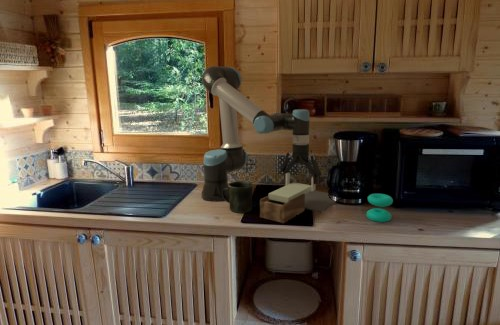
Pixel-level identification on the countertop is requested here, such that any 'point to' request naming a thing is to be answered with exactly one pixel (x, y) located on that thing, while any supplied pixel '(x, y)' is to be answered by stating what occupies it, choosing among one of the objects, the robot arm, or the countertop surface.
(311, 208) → the mat
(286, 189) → the lid
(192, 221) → the countertop surface
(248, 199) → the mug
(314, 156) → the robot arm
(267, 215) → the box
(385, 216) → the donuts
